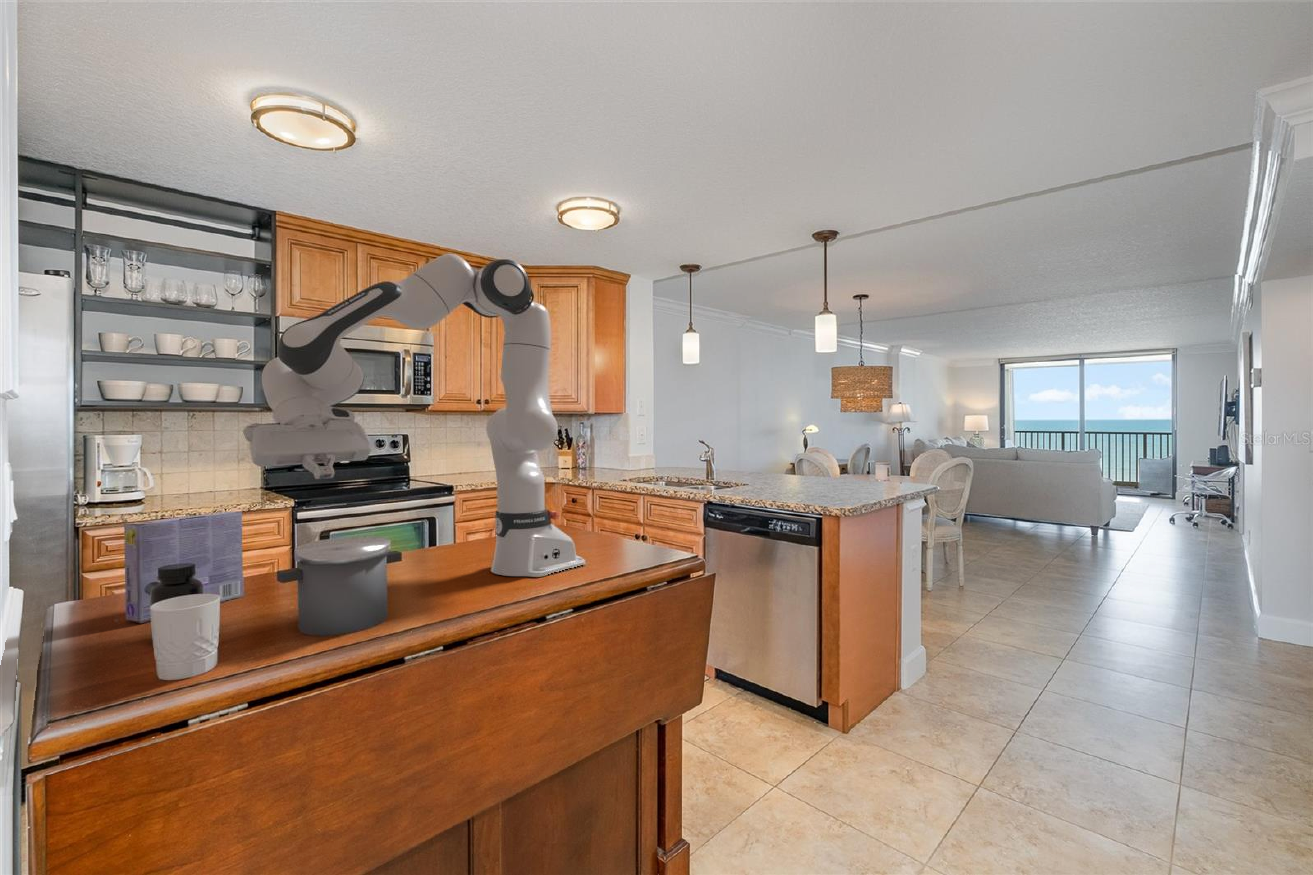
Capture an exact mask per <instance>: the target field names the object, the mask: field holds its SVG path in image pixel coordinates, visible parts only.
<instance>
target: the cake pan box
mask: <svg viewBox="0 0 1313 875" xmlns="http://www.w3.org/2000/svg"><path fill="white" fill-rule="evenodd" d="M123 527H124V528H123V530H124V532H123V534H124V536H123V537H124V583H125V584H124V585H125V587H124V589H125V619H126V620H128V621H132V622H136V623H139V624H143V623H146V622H147V623H148V622H151V616H150V592H151V589H152V588H153V587H154V586H155V585H157V584H158V583H160V580H157V576H158V568H160V567H162V566H167V565H172V564H180V563H194V564H195V572H196V575H195V576H194V578H195V579H198V580H200V581H201V582H202V584H203V594H216V595H219V596H220V603H224V602H226V600H227V601H231V600H235V599H239V598H244V570H243V569H244V568H243V567H244V566H243V565H244V564H243V563H244V562H243V513H242V511H241V510H240V511H239V510H238V511H236V510H235V511H224V512H216V513H215V512H214V513H207V514H200V515H199V514H198V515H197V514H196V515H188V516H187V515H186V516H180V517H179V516H178V517H173V518H172V517H170V518H163V519H156V520H148V521H139V522H138V521H137V522H130V523H124V525H123Z"/></svg>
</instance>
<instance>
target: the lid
mask: <svg viewBox="0 0 1313 875" xmlns="http://www.w3.org/2000/svg"><path fill="white" fill-rule="evenodd" d="M391 542H392V541H391V540H390V539H389V538H386V537H380V536H363V535H362V536H360V535H359V536H343V537H336V538H335V537H334V538H327V539H320V540H315V541H311V542H307V543H304V544H301V545H298V546H296V547H295V548H294V561H295V562H296V563H297V562H300V563H305V564H339V563H349V562H357V561H363V560H368V559H372V558H376V557H380V556H383V555H385V554H387V553H389V552H391V551H392V548H391V547H392V544H391Z"/></svg>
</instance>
